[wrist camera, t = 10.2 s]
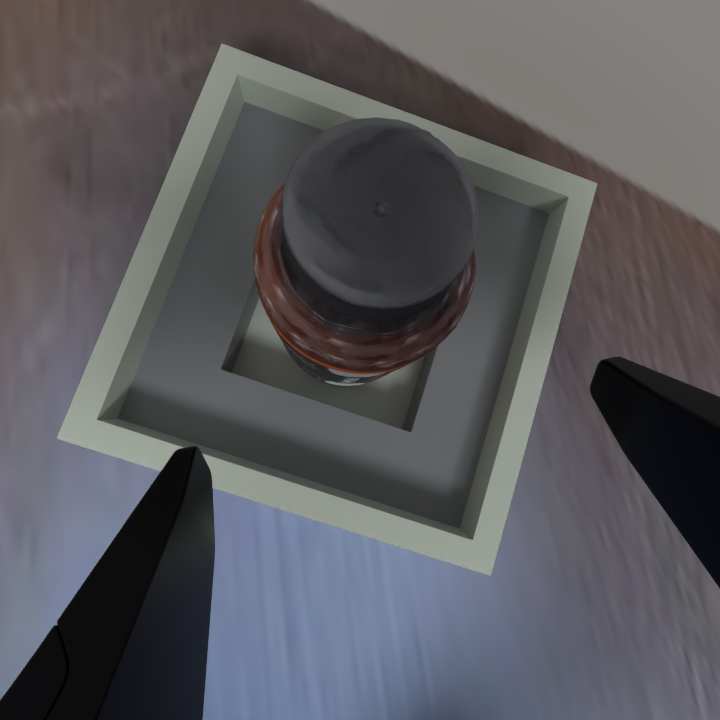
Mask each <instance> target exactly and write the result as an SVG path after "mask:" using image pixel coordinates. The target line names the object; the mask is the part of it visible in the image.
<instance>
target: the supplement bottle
mask: <svg viewBox="0 0 720 720" xmlns="http://www.w3.org/2000/svg"><path fill="white" fill-rule="evenodd" d="M478 230H479V207H478V203H477V194H476V191H475V188H474V185H473V183H472V180H471V177H470V176H469V174H468V173H467V171H466V169H465V167H464V165H463V163H462V161H461V160H460V159H459V158H458V157H457V156H456V155H455V154H454V153H453V152H452V150H451V149H449V148H448V147H447V146H446V145H445V144H444V143H443V142H441V141H440V140H439V139H438V138H436V137H434V136H433V135H432V134H431V133H430V132H429V131H427V130H423V129H421V128H419V127H417V126H415V125H413V124H411V123H407V122H404V121H401V120H398V119H386V118H378V117H375V118H363V119H354V120H351V121H348V122H345V123H342V124H340V125H336V126H334V127H331V128H330V129H328V130H327V131H325V132H323V133H321V134H319V135H318V136H317V137H316V138H315V139H313V140H312V141H311V142H310V143H309V144H308V145H307V146H306V147H305V148H304V150H303V151H302V152H301V153H299V155H298V156H297V158H296V159H295V161H294V163H293V165H292V167H291V169H290V171H289V173H288V176H287V178H286V181H285V182H284V183H283V184H282V185H281V186H280V187H279V188H278V190H277V191H276V192H275V193H274V195H273V196H272V198H271V199H270V201H269V202H268V204H267V206H266V208H265V209H264V211H263V213H262V216H261V219H260V222H259V224H258V227H257V230H256V236H255V241H254V254H253V262H254V274H255V280H256V286H257V290H258V294H259V297H260V300H261V303H262V305H263V307H264V309H265V311H266V314H267V316H268V317H269V319H270V321H271V323H272V325H273V327H274V329H275V330H276V332H277V334H278V336H279V337H280V340H281V341H282V343H283V344H284V347H285V348H286V350H287V352H288V353H289V355H290V356H291V358H292V359H293V360H294V361H295V363H296V364H297V365H298V366H299V367H300V368H302V369H303V370H304V371H305V372H306V373H308V374H309V375H311V376H312V377H314V378H316V379H318V380H320V381H323V382H326V383H329V384H334V385H341V386H354V385H361V384H366V383H369V382H373V381H375V380H377V379H379V378H381V377H383V376H386V375H388V374H389V373H391V372H393V371H396V370H398V369H401V368H402V367H404V366H406V365H408V364H411V363H413V362H414V361H416V360H418V359H420V358H421V357H423V356H425V355H426V354H428V353H429V352H431V351H432V350H433V349H434V348H436V347H437V346H438V345H439V344H440V343H441V342H442V341H443V340H444V339H445V338H447V336H448V335H449V334H450V333H451V332H452V331H453V330H454V329H455V328H456V327H457V325H458V323H459V321H460V319H461V317H462V316H463V314H464V312H465V310H466V308H467V305H468V303H469V300H470V297H471V294H472V291H473V287H474V282H475V274H476V255H475V244H476V240H477V237H478Z"/></svg>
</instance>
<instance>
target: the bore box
mask: <svg viewBox="0 0 720 720" xmlns="http://www.w3.org/2000/svg"><path fill="white" fill-rule="evenodd" d="M375 117H378V118H386V119H398V120H401V121H404V122H407V123H411V124H413V125H415V126H417V127H419V128H421V129H423V130H427V131H429V132H430V133H431V134H432V135H433V136H434V137H436V138H438V139H439V140H440V141H441V142H443V143H444V144H445V145H446V146H447V147H448V148H449V149H451V150H452V152H453V153H454V154H455V155H456V156H457V157H458V158H459V159H460V160H461V161H462V163H463V165H464V167H465V169H466V171H467V173H468V174H469V176H470V177H471V180H472V183H473V185H474V188H475V191H476V194H477V203H478V207H479V230H478V237H477V240H476V244H475V255H476V274H475V282H474V287H473V291H472V294H471V297H470V300H469V303H468V305H467V308H466V310H465V312H464V314H463V316H462V317H461V319H460V321H459V323H458V325H457V327H456V328H455V329H454V330H453V331H452V332H451V333H450V334H449V335H448V336H447V338H445V339H444V340H443V341H442V342H441V343H440V344H439V345H438V346H437V347H436V348H434V349H433V350H432V351H431V352H429V353H428V354H426V355H425V356H423V357H421V358H420V359H418V360H416V361H414V362H413V363H411V364H408V365H406V366H404V367H402V368H401V369H398V370H396V371H393V372H391V373H389V374H388V375H386V376H383V377H381V378H379V379H377V380H375V381H373V382H369V383H366V384H361V385H354V386H341V385H334V384H329V383H326V382H323V381H320V380H318V379H316V378H314V377H312V376H311V375H309V374H308V373H306V372H305V371H304V370H303V369H302V368H300V367H299V366H298V365H297V364H296V363H295V361H294V360H293V359H292V358H291V356H290V355H289V353H288V352H287V350H286V348H285V347H284V344H283V343H282V341H281V340H280V337H279V336H278V334H277V332H276V330H275V329H274V327H273V325H272V323H271V321H270V319H269V317H268V316H267V314H266V311H265V309H264V307H263V305H262V303H261V300H260V297H259V294H258V290H257V286H256V280H255V274H254V262H253V254H254V241H255V236H256V230H257V227H258V224H259V222H260V219H261V216H262V213H263V211H264V209H265V208H266V206H267V204H268V202H269V201H270V199H271V198H272V196H273V195H274V193H275V192H276V191H277V190H278V188H279V187H280V186H281V185H282V184H283V183H284V182H285V181H286V178H287V176H288V173H289V171H290V169H291V167H292V165H293V163H294V161H295V159H296V158H297V156H298V155H299V153H301V152H302V151H303V150H304V148H305V147H306V146H307V145H308V144H309V143H310V142H311V141H312V140H313V139H315V138H316V137H317V136H318V135H319V134H321V133H323V132H325V131H327V130H328V129H330V128H331V127H334V126H336V125H340V124H342V123H345V122H348V121H351V120H354V119H363V118H375ZM596 187H597V183H595V182H593V181H590V180H587V179H585V178H582V177H579V176H576V175H574V174H571V173H568V172H566V171H563V170H560V169H558V168H555V167H552V166H550V165H547V164H544V163H542V162H539V161H536V160H533V159H531V158H528V157H525V156H523V155H520V154H517V153H515V152H512V151H509V150H507V149H504V148H501V147H499V146H496V145H493V144H491V143H488V142H485V141H482V140H480V139H477V138H474V137H472V136H469V135H466V134H464V133H461V132H458V131H456V130H453V129H450V128H448V127H445V126H442V125H440V124H437V123H434V122H431V121H429V120H426V119H423V118H421V117H418V116H415V115H413V114H410V113H407V112H405V111H402V110H399V109H397V108H394V107H391V106H388V105H386V104H383V103H380V102H378V101H375V100H372V99H370V98H367V97H364V96H362V95H359V94H356V93H354V92H351V91H348V90H346V89H343V88H340V87H337V86H335V85H332V84H329V83H327V82H324V81H321V80H319V79H316V78H313V77H311V76H308V75H305V74H303V73H300V72H297V71H294V70H292V69H289V68H286V67H284V66H281V65H278V64H276V63H273V62H270V61H268V60H265V59H262V58H260V57H257V56H254V55H252V54H249V53H246V52H243V51H241V50H238V49H235V48H233V47H230V46H227V45H225V44H221V47H220V49H219V51H218V54H217V56H216V59H215V61H214V63H213V66H212V68H211V70H210V73H209V75H208V78H207V80H206V82H205V85H204V87H203V90H202V92H201V94H200V97H199V99H198V102H197V104H196V106H195V109H194V111H193V114H192V116H191V118H190V121H189V123H188V126H187V128H186V130H185V133H184V135H183V138H182V140H181V142H180V145H179V147H178V149H177V152H176V154H175V157H174V159H173V161H172V164H171V166H170V169H169V171H168V173H167V176H166V178H165V181H164V183H163V185H162V188H161V190H160V193H159V195H158V197H157V200H156V202H155V205H154V207H153V209H152V212H151V214H150V216H149V219H148V221H147V224H146V226H145V228H144V231H143V233H142V236H141V238H140V240H139V243H138V245H137V248H136V250H135V252H134V255H133V257H132V260H131V262H130V264H129V267H128V269H127V272H126V274H125V276H124V279H123V281H122V283H121V286H120V288H119V291H118V293H117V295H116V298H115V300H114V303H113V305H112V307H111V310H110V312H109V315H108V317H107V319H106V322H105V324H104V327H103V329H102V331H101V334H100V336H99V339H98V341H97V343H96V346H95V348H94V351H93V353H92V355H91V358H90V360H89V362H88V365H87V367H86V370H85V372H84V374H83V377H82V379H81V382H80V384H79V386H78V389H77V391H76V394H75V396H74V398H73V401H72V403H71V406H70V408H69V410H68V413H67V415H66V418H65V420H64V422H63V425H62V427H61V429H60V432H59V434H58V437H57V439H60V440H63V441H66V442H69V443H73V444H76V445H79V446H82V447H85V448H88V449H91V450H95V451H98V452H101V453H104V454H107V455H110V456H114V457H117V458H120V459H123V460H126V461H129V462H132V463H136V464H139V465H142V466H145V467H148V468H151V469H155V470H158V471H161V470H162V469H163V467H164V466H165V465H166V463H167V462H168V460H169V459H170V457H171V456H172V454H173V453H174V452H175V451H176V450H177V449H180V448H185V447H190V446H197V447H198V448H199V449H200V451H201V453H202V455H203V456H204V458H205V460H206V462H207V464H208V466H209V468H210V471H211V475H212V488H214V489H218V490H221V491H224V492H227V493H230V494H233V495H237V496H240V497H243V498H246V499H249V500H252V501H256V502H259V503H262V504H265V505H268V506H271V507H274V508H278V509H281V510H284V511H287V512H290V513H293V514H297V515H300V516H303V517H306V518H309V519H312V520H315V521H319V522H322V523H325V524H328V525H331V526H334V527H338V528H341V529H344V530H347V531H350V532H353V533H356V534H360V535H363V536H366V537H369V538H372V539H375V540H379V541H382V542H385V543H388V544H391V545H394V546H397V547H401V548H404V549H407V550H410V551H413V552H416V553H420V554H423V555H426V556H429V557H432V558H435V559H439V560H442V561H445V562H448V563H451V564H454V565H457V566H461V567H464V568H467V569H470V570H473V571H476V572H480V573H483V574H486V575H489V576H491V574H492V570H493V566H494V563H495V559H496V555H497V552H498V548H499V544H500V541H501V537H502V533H503V530H504V526H505V522H506V518H507V515H508V511H509V507H510V504H511V500H512V496H513V493H514V489H515V485H516V482H517V478H518V474H519V471H520V467H521V463H522V460H523V456H524V452H525V448H526V445H527V441H528V437H529V434H530V430H531V426H532V423H533V419H534V415H535V412H536V408H537V404H538V401H539V397H540V393H541V390H542V386H543V382H544V378H545V375H546V371H547V367H548V364H549V360H550V356H551V353H552V349H553V345H554V342H555V338H556V334H557V331H558V327H559V323H560V320H561V316H562V312H563V308H564V305H565V301H566V297H567V294H568V290H569V286H570V283H571V279H572V275H573V272H574V268H575V264H576V261H577V257H578V253H579V250H580V246H581V242H582V238H583V235H584V231H585V227H586V224H587V220H588V216H589V213H590V209H591V205H592V202H593V198H594V194H595V191H596Z"/></svg>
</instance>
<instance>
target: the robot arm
mask: <svg viewBox="0 0 720 720" xmlns="http://www.w3.org/2000/svg"><path fill="white" fill-rule="evenodd" d="M590 392H591V396H592V398H593V399H594V401H595V403H596V405H597V407H598V408H599V410H600V412H601V414H602V415H603V417H604V419H605V421H606V422H607V424H608V426H609V428H610V430H611V431H612V433H613V435H614V437H615V438H616V440H617V442H618V444H619V445H620V447H621V449H622V450H623V452H624V453H625V455H626V456H627V458H628V459H629V461H630V462H631V464H632V465H633V467H634V468H635V469H636V471H637V472H638V474H639V475H640V476H641V478H642V479H643V481H644V482H645V484H646V485H647V486H648V488H649V489H650V491H651V492H652V493H653V495H654V496H655V498H656V499H657V500H658V502H659V503H660V505H661V506H662V507H663V509H664V510H665V512H666V513H667V515H668V516H669V517H670V519H671V520H672V522H673V523H674V524H675V526H676V527H677V529H678V530H679V531H680V533H681V534H682V536H683V537H684V539H685V540H686V541H687V543H688V544H689V546H690V547H691V548H692V550H693V551H694V553H695V554H696V555H697V557H698V558H699V560H700V561H701V563H702V564H703V565H704V567H705V568H706V570H707V571H708V572H709V574H710V575H711V577H712V578H713V579H714V581H715V582H716V584H717V585H718V587H719V588H720V397H719V396H716V395H714V394H711V393H709V392H706V391H704V390H701V389H699V388H696V387H694V386H691V385H689V384H686V383H684V382H681V381H679V380H677V379H674V378H672V377H669V376H667V375H664V374H662V373H659V372H657V371H654V370H652V369H649V368H647V367H644V366H642V365H639V364H637V363H634V362H632V361H629V360H627V359H624V358H622V357H613V358H608V359H603V360H601V361H600V362H599V363H598V365H597V368H596V371H595V373H594V376H593V379H592V382H591V385H590ZM214 557H215V534H214V512H213V489H212V475H211V471H210V468H209V466H208V464H207V462H206V460H205V458H204V456H203V455H202V453H201V451H200V449H199V448H198V447H197V446H190V447H185V448H180V449H177V450H176V451H175V452H174V453H173V454H172V456H171V457H170V459H169V460H168V462H167V463H166V465H165V466H164V467H163V469H162V470H161V472H160V473H159V475H158V476H157V478H156V479H155V480H154V482H153V483H152V485H151V486H150V488H149V489H148V491H147V492H146V493H145V495H144V496H143V498H142V499H141V501H140V502H139V504H138V505H137V506H136V508H135V509H134V511H133V512H132V514H131V515H130V517H129V518H128V519H127V521H126V522H125V524H124V525H123V527H122V528H121V530H120V531H119V533H118V534H117V535H116V537H115V538H114V540H113V541H112V543H111V544H110V546H109V547H108V548H107V550H106V551H105V553H104V554H103V556H102V557H101V559H100V560H99V561H98V563H97V564H96V566H95V567H94V569H93V570H92V572H91V573H90V574H89V576H88V577H87V579H86V580H85V582H84V583H83V585H82V586H81V587H80V589H79V590H78V592H77V593H76V595H75V596H74V598H73V599H72V600H71V602H70V603H69V605H68V606H67V608H66V609H65V611H64V612H63V613H62V615H61V616H60V618H59V619H58V621H57V624H58V625H55V626H54V627H53V628H52V629H51V630H50V632H49V633H48V635H47V636H46V638H45V639H44V641H43V642H42V643H41V645H40V646H39V648H38V649H37V651H36V652H35V653H34V655H33V656H32V658H31V659H30V660H29V662H28V663H27V665H26V666H25V667H24V669H23V670H22V672H21V673H20V674H19V676H18V677H17V678H16V680H15V681H14V683H13V684H12V685H11V687H10V688H9V690H8V691H7V692H6V693H5V695H4V696H3V697H2V699H1V700H0V720H202V718H203V705H204V692H205V678H206V665H207V652H208V639H209V625H210V612H211V599H212V585H213V572H214Z"/></svg>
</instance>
